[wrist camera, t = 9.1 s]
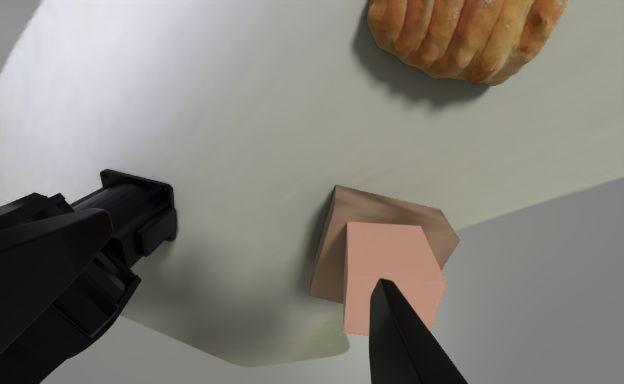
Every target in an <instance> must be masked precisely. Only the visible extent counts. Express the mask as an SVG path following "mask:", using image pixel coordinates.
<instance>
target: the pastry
mask: <svg viewBox="0 0 624 384" xmlns="http://www.w3.org/2000/svg"><path fill="white" fill-rule="evenodd" d="M566 5H567V0H370V2H369V11H368V15H367V23H368V26H369V29H370V31H371V33H372V35H373V37H374V39H375V42H376V44H377V46H378V47H380V48H381V49H384V50H385V51H387V52H390V53H392V54H394V55H395V56H396V57H397V58H399V59H400V60H401V61H402V62H403V63H405V64H407V65H409V66H412V67H416V68H419V69H420V70H423V71H424V72H426V73H427V74H428V75H429V76H430V77H432V78H434V79H441V78H453V79H457V80H467V81H469V82H471V83H485V84H487V85H490V86H496V85H499V84H501V83H503V82H505V81H506V80H507V79H508V78H509V77H510V76H512V75H514V74H516V73H518V72H519V70H520V69H521V68H522V67H523V66H524V64H526V63H528V62H529V61H531V60H532V59H533V58H534V57H535V56H536V55H537V54H538V53H539V52H540V51H541V49H542V48H543V46H544V45H545V43H546V41H547V40H548V38H549V37H550V35H551V34H552V32H553V30H554V28H555V27H556V25H557V23H558V21H559V19H560V17H561V15H562V14H563V12H564V10H565V8H566Z"/></svg>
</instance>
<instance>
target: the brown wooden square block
mask: <svg viewBox="0 0 624 384" xmlns="http://www.w3.org/2000/svg"><path fill="white" fill-rule="evenodd" d="M347 222H363V223H379V224H396V225H413V226H421V228H422V230H423V232H424V235H425V237H426V239H427V241H428V243H429V246H430V248H431V250H432V252H433V254H434V256H435V259H436V261H437V263H438V265H439V267H440V270H442V268H443V267H444V265H445V263H446V262H447V260H448V259H449V257H450V255H451V254H452V252H453V251H454V249H455V248H456V246H457V244H458V243H459V241H460V239H459V238H458V236H457V235H456V233H455V232H454V230H453V228H452V227H451V225H450V224H449V222H448V221H447V219H446V218H445V216H444V214H443V213H442V211H441V210H438V209H434V208H430V207H426V206H421V205H417V204H413V203H409V202H405V201H401V200H397V199H392V198H388V197H384V196H380V195H376V194H372V193H368V192H363V191H359V190H355V189H351V188H347V187H343V186H339V185H336V187H335V190H334V194H333V197H332V201H331V204H330V208H329V211H328V215H327V218H326V222H325V225H324V229H323V232H322V235H321V239H320V242H319V246H318V249H317V253H316V256H315V260H314V264H313V270H312V277H311V283H310V290H309V295H310V296H314V297H318V298H322V299H326V300H330V301H334V302H338V303H343V304H344V263H345V248H346V234H347Z"/></svg>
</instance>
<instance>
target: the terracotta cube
mask: <svg viewBox="0 0 624 384" xmlns="http://www.w3.org/2000/svg"><path fill="white" fill-rule="evenodd" d="M380 278H384V279H388V280H392V281H393V282H394V283H395V284H396V286H397V287H398V288H399V290H400V291H401V292H402V294H403V295H404V297H405V298H406V299H407V301H408V302H409V303H410V305H411V306H412V308H413V309H414V310H415V312H416V313H417V314H418V316H419V317H420V319H421V320H422V321H423V323H424V324H425V325H426V327H427V328H428V329H429V331H430V330H431V327H432V324H433V321H434V318H435V315H436V312H437V309H438V306H439V303H440V300H441V297H442V294H443V291H444V288H445V284H446V281H445V278H444V276H443V274H442V272H441V270H440V267H439V265H438V263H437V261H436V259H435V256H434V254H433V252H432V250H431V248H430V246H429V243H428V241H427V239H426V237H425V235H424V232H423V230H422V228H421V226H413V225H396V224H379V223H363V222H347V234H346V248H345V263H344V312H343V333H348V334H358V335H367V336H369V321H370V298H371V294H372V292H373V290H374V288H375V286H376V284H377V282H378V280H379V279H380Z"/></svg>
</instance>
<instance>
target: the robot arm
mask: <svg viewBox="0 0 624 384" xmlns="http://www.w3.org/2000/svg"><path fill="white" fill-rule="evenodd" d="M100 176H101V181H102V185H103V187H102V188H100V189H99V190H97V191H95V192H93V193H91V194H89V195H87V196H85V197H83V198H81V199H79V200H77V201H76V202H74V203H72V204H70V205H69V204H68V203H67V202H66V201H65V199H66V198H65V197H64V196H63V195H62V194H61V193H58V194H56V195H54V196H52V197H50V198H48V197H47V196H43V195H40V194H38V193H32V194H30V195H28V196H25V197H23V198H20V199H18V200H16V201H13V202H11V203H8V204H6V205H3V206H1V207H0V384H40V383H41V382H42V381H43V380H44V379H45V378H46V377H47V376H48V375H49V374H50V373H51V372H52V371H53V370H55V369H56V368H57V367H58V366H59V365H60V364H62V363H63V362H64V361H65V360H66V359H69V358H71V357H73V356H75V355H77V354H79V353H80V352H82V351H84V350H85V349H86V348H88V347H89V346H90V345H92V344H93V343H94V342H95V341H96V340H98V339H99V338H100V337H101V336H102V335H103V334H104V333H105V332H106V331H107V330H108V329H109V328H110V327H111V326H112V325H113V323H114V322H115V321H116V319H117V318H118V316H119V315H120V313H121V312H122V310H123V308H124V307H125V305H126V304H127V302H128V301H129V299H130V298H131V296H132V294H133V293H134V291H135V290H136V288H137V287H138V285H139V284H140V282H141V278H140V277H139V276H138V275H135V274H134V273H133V272H132V271H131V270H130V268H131V267H132V266H133V265H134V264H135V263H136V262H137V261H138V260H139V259H140V258H141V257H142V256H144V257H147V256H149V255H150V254H151V253H152V252H153V251H154V250H155V249H156V248H157V247H158V246H159V245H160V244H161V243H162V242H163V241H164V240H166V241H173V240H174V239H175V238H176V230H175V229H176V220H175V208H174V201H173V189H172V187H171V186H170V185H169V184H167V183H162V182H158V181H154V180H150V179H146V178H142V177H138V176H134V175H129V174H125V173H121V172H117V171H113V170H109V169H106V170H103V171H101V172H100ZM165 188H166V189H167V190H166V189H165ZM369 359H370V371H371V384H468V383H467V382H466V380H465V379H464V378H463V376H462V375H461V373H460V372H459V371H458V370H457V368H456V366H455V365H454V364H453V362H452V361H451V360H450V359H449V357H448V356H447V354H446V353H445V351H444V350H443V349H442V347H441V346H440V345H439V343H438V342H437V340H436V339H435V338H434V336H433V335H432V334H431V332H430V331H429V329H428V328H427V327H426V325H425V324H424V323H423V321H422V320H421V319H420V317H419V316H418V314H417V313H416V312H415V310H414V309H413V308H412V306H411V305H410V303H409V302H408V301H407V299H406V298H405V297H404V295H403V294H402V292H401V291H400V290H399V288H398V287H397V286H396V284H395V283H394V282H393V281H392V280H388V279H384V278H380V279H379V280H378V282H377V284H376V286H375V288H374V290H373V292H372V294H371V298H370V321H369Z"/></svg>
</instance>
